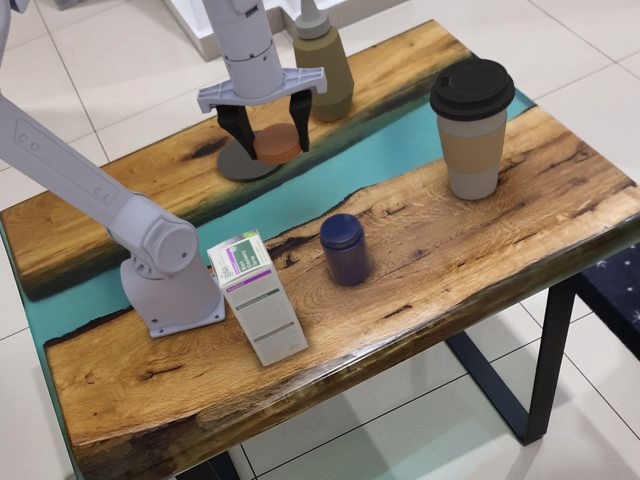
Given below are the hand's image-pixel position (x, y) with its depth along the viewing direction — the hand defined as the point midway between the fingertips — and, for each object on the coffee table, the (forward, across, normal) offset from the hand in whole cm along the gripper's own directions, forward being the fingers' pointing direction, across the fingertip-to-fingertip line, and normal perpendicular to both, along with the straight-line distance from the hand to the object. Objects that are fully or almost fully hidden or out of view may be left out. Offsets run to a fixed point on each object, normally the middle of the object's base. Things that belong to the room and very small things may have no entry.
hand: (281, 150), depth 79 cm
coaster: (+10, +8, -13) cm, 18 cm away
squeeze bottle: (+10, -4, -21) cm, 24 cm away
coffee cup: (+10, -23, 0) cm, 25 cm away
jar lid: (-2, 0, 0) cm, 2 cm away
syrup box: (+10, +2, +21) cm, 24 cm away
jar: (+10, -7, +12) cm, 17 cm away
